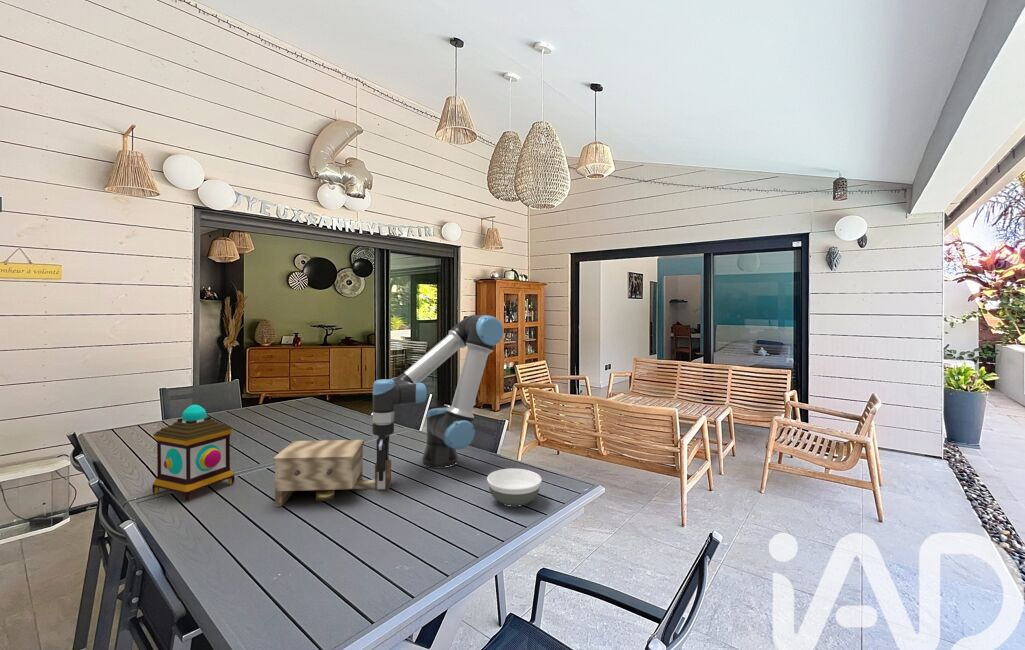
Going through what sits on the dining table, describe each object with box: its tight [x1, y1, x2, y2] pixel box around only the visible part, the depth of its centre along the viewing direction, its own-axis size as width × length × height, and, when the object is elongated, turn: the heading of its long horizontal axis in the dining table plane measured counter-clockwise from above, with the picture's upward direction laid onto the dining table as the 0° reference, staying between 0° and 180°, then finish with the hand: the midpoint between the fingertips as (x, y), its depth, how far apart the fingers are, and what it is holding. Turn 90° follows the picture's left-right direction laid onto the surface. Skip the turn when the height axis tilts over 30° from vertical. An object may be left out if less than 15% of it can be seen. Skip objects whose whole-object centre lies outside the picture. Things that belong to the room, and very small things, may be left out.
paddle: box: [335, 459, 392, 491], centre depth 162 cm, size 27×5×9 cm, turn 97°
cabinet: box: [272, 439, 366, 507], centre depth 156 cm, size 25×20×16 cm
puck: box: [315, 489, 336, 502], centre depth 154 cm, size 6×6×2 cm
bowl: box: [486, 468, 543, 506], centre depth 153 cm, size 19×19×8 cm
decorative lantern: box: [151, 404, 235, 502], centre depth 158 cm, size 20×20×30 cm
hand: (382, 485), depth 164 cm, fingers closed on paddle, 5 cm apart
